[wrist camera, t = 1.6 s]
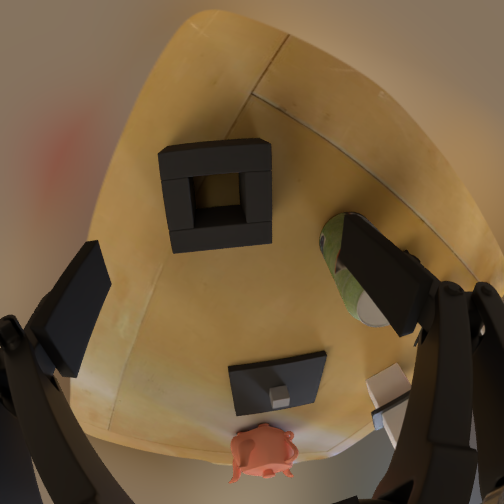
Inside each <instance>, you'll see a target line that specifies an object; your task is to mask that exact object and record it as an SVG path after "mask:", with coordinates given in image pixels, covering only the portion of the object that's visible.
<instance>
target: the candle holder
mask: <svg viewBox="0 0 504 504" xmlns="http://www.w3.org/2000/svg"><path fill="white" fill-rule="evenodd" d="M366 384H367V388H368V392H369V395H370V397H371V399H372V401H373V403H374V406H375V408H376V409H375V410H374V411H372V412H371V414H372V419H373V424H374V427H375V430H379V429H381V428H382V427H385V430H386V432H387V434H388V436H389V438H390V440H391V442H392V445H393V447H394V449H395V448H396V445H397V441H398V438H399V435H400V431H401V428H402V424H403V420H404V416H405V412H406V408H407V404H408V400H409V395H410V390H411V384H410V383H409V381H408V379H407V378H406V376H405V374H404V373H403V371H402V370H401V368H400V366H399V365H398V363H395V364H394V365H392V366H390V367H388V368H387V369H385V370H383V371H381V372H380V373H378V374H376V375H374V376H372V377H370V378H368V379H367V380H366Z"/></svg>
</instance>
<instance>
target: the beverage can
mask: <svg viewBox="0 0 504 504" xmlns="http://www.w3.org/2000/svg"><path fill="white" fill-rule="evenodd" d="M345 214H357V215H358V216H360V217H361V218H362V219H364V220H365V221H366V222H367V223H369V224H370V225H371V226H372V227H374V228H375V229H376V230H377V231H379V230H378V229H377V228H376V227H375V226H374V225H373V224H372V223H371V222H370V221H369V220H368V219H367V218H366V217H364V216H363V215H361V214H359V213H356V212H344V213H341V214H338V215H336V216H334V217H333V218H331V219H330V220H329V221H328V222H327V223H326V225H325V226H324V228H323V229H322V232H321V234H320V239H319V245H320V250H321V252H322V254H323V257H324V259H325V261H326V263H327V265H328V267H329V270H330V272H331V274H332V276H333V278H334V281H335V283H336V285H337V288H338V290H339V292H340V294H341V297H342V299H343V301H344V304H345V306H346V308H347V310H348V312H349V313H350V314H351V315H352V316H353V317H354V318H356V319H358V320H359V321H362V322H363V323H364V324H365V325H367V326H370V327H384V326H387V325H390V323H389V322H388V321H387V319H386V318H385V317H384V315H383V314H382V313H381V311H380V310H379V309H378V307H377V306H376V305H375V303H374V302H373V301H372V299H371V298H370V297H369V296H368V294H367V293H366V292H365V290H364V289H363V288H362V287H361V285H360V284H359V283H358V282H357V280H356V279H355V278H354V277H353V275H352V274H351V273H350V272H349V270H348V269H347V268H346V267H345V265H344V264H343V263H342V262H341V260H340V259H339V256H340V248H341V240H342V232H343V222H344V215H345ZM379 232H380V231H379ZM380 233H381V232H380ZM381 234H382V233H381ZM382 235H383V234H382Z"/></svg>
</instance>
